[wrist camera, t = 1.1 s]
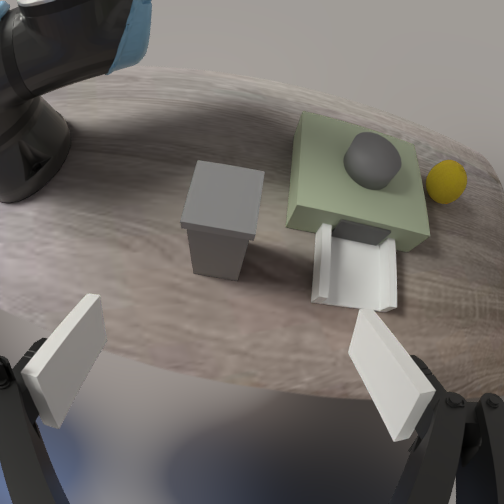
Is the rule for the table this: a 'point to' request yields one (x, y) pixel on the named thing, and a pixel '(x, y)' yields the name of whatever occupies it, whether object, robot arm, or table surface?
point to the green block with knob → (355, 209)
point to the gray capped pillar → (221, 217)
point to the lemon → (446, 181)
